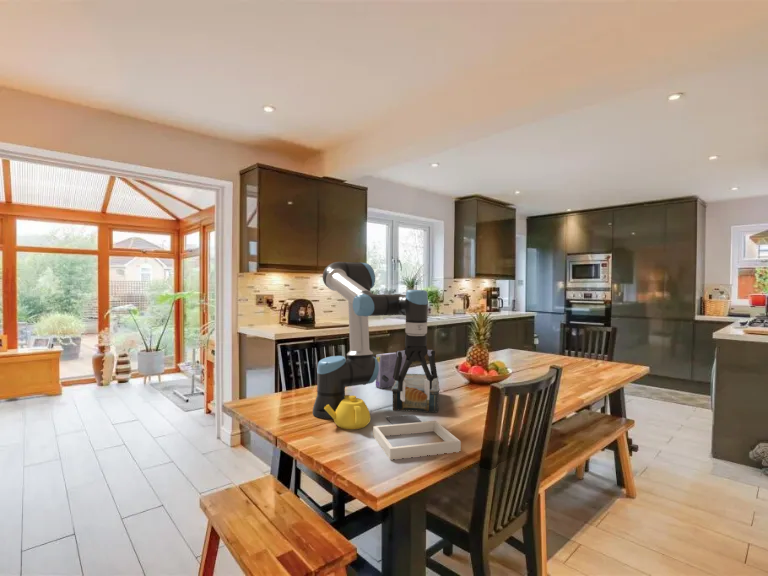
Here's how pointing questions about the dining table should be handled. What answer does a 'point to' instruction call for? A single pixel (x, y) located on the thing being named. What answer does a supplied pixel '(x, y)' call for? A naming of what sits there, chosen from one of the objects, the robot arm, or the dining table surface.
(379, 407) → the dining table surface
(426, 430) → the white shallow tray
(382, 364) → the cake pan box
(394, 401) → the metal box
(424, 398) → the pastry
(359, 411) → the teapot
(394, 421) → the mat
